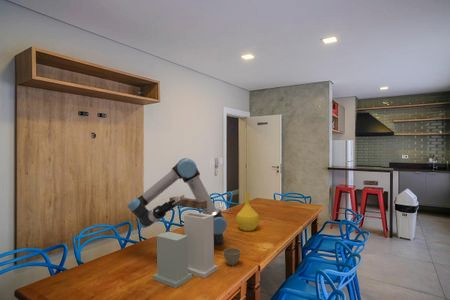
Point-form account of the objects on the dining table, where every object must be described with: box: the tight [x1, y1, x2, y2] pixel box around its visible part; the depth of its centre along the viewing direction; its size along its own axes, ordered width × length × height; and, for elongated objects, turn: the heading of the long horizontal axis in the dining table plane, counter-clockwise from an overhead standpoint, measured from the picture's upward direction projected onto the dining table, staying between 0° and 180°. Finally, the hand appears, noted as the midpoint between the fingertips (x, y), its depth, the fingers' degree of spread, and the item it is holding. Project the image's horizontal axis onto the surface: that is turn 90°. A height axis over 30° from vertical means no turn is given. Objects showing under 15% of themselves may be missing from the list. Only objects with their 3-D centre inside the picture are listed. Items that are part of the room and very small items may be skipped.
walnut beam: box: [169, 196, 207, 210], centre depth 148 cm, size 24×4×4 cm, turn 57°
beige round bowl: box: [222, 247, 242, 266], centre depth 153 cm, size 10×10×7 cm
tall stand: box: [183, 212, 219, 279], centre depth 145 cm, size 16×12×30 cm
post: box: [152, 231, 193, 289], centre depth 136 cm, size 16×12×22 cm
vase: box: [235, 192, 260, 232], centre depth 216 cm, size 18×18×30 cm
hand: (181, 197), depth 151 cm, fingers closed on walnut beam, 4 cm apart
